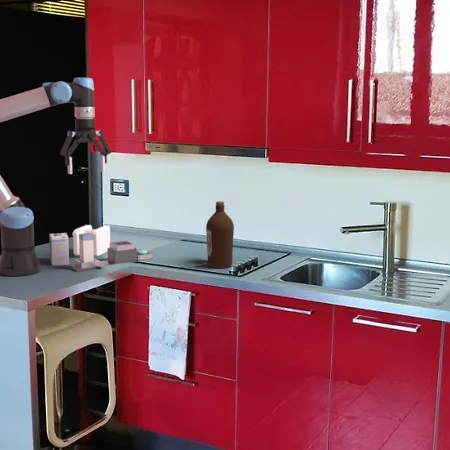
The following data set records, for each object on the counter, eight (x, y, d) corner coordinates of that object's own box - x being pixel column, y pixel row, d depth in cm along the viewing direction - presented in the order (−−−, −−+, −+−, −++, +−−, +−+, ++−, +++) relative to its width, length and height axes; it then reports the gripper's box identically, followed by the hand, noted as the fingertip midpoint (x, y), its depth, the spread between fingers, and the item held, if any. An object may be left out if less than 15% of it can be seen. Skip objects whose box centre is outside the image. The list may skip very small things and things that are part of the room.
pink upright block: (84, 266, 261) (82, 235, 259) (79, 264, 266) (77, 233, 263) (94, 265, 264) (93, 234, 261) (89, 262, 268) (88, 232, 266)
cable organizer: (96, 259, 279) (95, 231, 277) (72, 258, 281) (71, 229, 279) (111, 251, 293) (110, 224, 291) (88, 250, 296) (87, 223, 294)
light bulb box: (50, 259, 278) (48, 233, 276) (67, 258, 280) (66, 232, 278) (52, 265, 268) (50, 238, 266) (69, 264, 270) (68, 237, 268)
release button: (139, 255, 273) (139, 252, 273) (134, 253, 277) (134, 250, 277) (149, 254, 276) (149, 250, 275) (144, 252, 279) (144, 248, 279)
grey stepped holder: (77, 271, 258) (76, 250, 257) (69, 267, 265) (69, 247, 263) (154, 261, 275) (153, 241, 274) (145, 257, 282) (145, 238, 280)
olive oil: (231, 262, 274) (231, 199, 270) (235, 268, 264) (235, 203, 259) (204, 263, 273) (204, 200, 268) (207, 269, 262) (207, 204, 258)
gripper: (57, 118, 260) (59, 175, 264) (118, 118, 273) (119, 172, 277) (50, 118, 266) (52, 173, 270) (110, 117, 279) (112, 170, 283)
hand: (86, 172), depth 273 cm, fingers open, 13 cm apart
